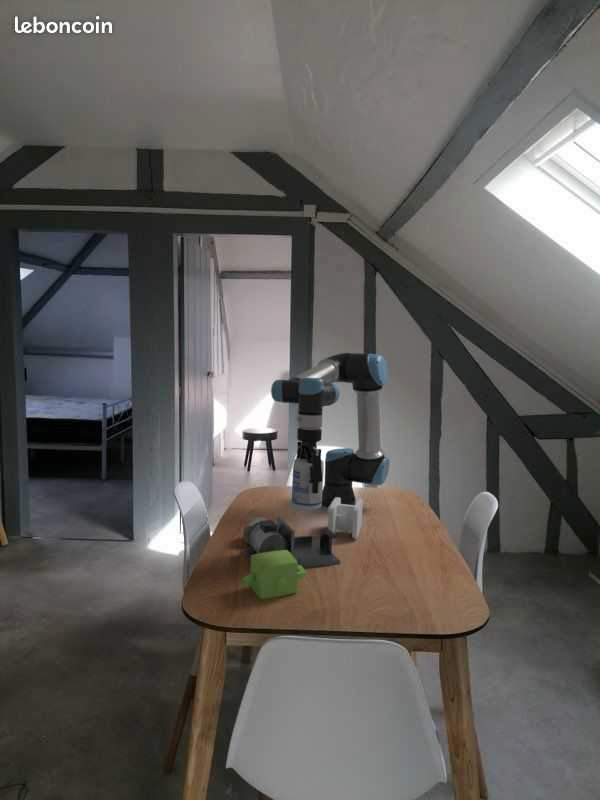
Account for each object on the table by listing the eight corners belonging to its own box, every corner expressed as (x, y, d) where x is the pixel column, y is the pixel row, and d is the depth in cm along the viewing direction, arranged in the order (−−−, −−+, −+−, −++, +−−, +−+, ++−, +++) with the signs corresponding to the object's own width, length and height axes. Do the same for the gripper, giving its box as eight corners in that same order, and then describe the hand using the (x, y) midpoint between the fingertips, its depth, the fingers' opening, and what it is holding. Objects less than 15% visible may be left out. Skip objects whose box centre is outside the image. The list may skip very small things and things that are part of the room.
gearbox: (245, 607, 141) (246, 572, 140) (234, 589, 150) (234, 556, 148) (309, 595, 148) (310, 562, 147) (295, 578, 157) (296, 547, 156)
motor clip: (320, 542, 186) (321, 508, 185) (343, 563, 170) (344, 526, 168) (242, 551, 177) (243, 515, 175) (258, 573, 160) (259, 534, 159)
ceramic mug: (241, 545, 182) (242, 522, 181) (249, 537, 190) (250, 515, 189) (272, 549, 179) (273, 527, 178) (279, 541, 187) (280, 519, 186)
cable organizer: (356, 542, 188) (357, 509, 186) (325, 539, 190) (327, 506, 189) (362, 528, 202) (363, 497, 201) (333, 525, 205) (334, 494, 203)
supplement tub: (286, 508, 170) (288, 461, 169) (298, 500, 179) (299, 456, 178) (316, 512, 167) (317, 465, 165) (326, 504, 176) (328, 459, 174)
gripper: (286, 422, 179) (284, 489, 182) (312, 434, 159) (309, 509, 161) (307, 422, 182) (305, 488, 184) (335, 433, 161) (332, 507, 164)
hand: (307, 498), depth 173 cm, fingers closed on supplement tub, 9 cm apart
